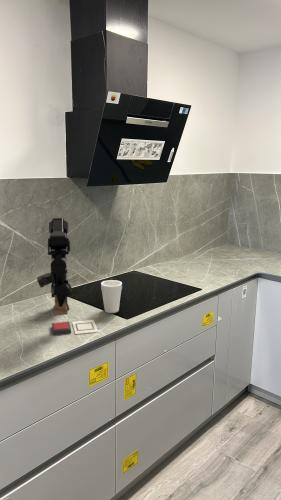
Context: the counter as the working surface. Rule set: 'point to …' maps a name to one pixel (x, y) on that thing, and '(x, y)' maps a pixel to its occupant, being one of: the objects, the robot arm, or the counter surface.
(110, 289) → the foam cup
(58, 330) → the ink pad
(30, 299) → the counter surface
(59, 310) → the stamp
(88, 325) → the paper sheet
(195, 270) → the counter surface
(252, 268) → the counter surface
